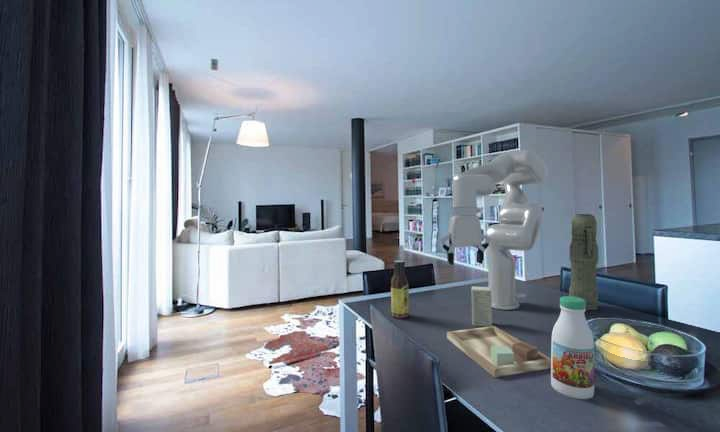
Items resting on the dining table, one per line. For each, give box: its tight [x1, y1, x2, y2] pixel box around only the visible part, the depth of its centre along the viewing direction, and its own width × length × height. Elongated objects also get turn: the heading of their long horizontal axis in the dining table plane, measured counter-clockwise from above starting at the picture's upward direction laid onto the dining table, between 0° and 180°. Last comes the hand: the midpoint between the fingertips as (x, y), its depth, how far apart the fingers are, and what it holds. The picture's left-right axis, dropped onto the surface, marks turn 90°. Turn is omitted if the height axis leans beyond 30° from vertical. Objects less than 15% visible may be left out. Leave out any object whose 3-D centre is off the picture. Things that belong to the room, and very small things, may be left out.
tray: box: [446, 325, 551, 378], centre depth 86 cm, size 16×22×2 cm
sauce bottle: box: [390, 259, 410, 319], centre depth 116 cm, size 6×6×20 cm
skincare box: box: [470, 285, 493, 327], centre depth 107 cm, size 6×4×12 cm
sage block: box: [491, 346, 514, 366], centre depth 79 cm, size 4×4×4 cm
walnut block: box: [512, 341, 539, 363], centre depth 80 cm, size 4×4×4 cm
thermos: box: [568, 213, 599, 311], centre depth 121 cm, size 9×12×35 cm
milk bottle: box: [550, 295, 595, 400], centre depth 69 cm, size 8×8×20 cm
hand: (465, 263), depth 107 cm, fingers open, 9 cm apart
